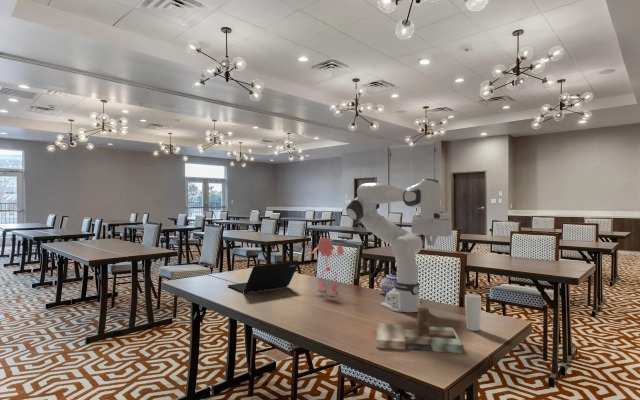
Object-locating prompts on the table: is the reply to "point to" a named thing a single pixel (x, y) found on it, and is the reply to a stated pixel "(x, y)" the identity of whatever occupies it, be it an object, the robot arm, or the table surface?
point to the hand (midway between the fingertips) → (430, 245)
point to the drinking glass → (473, 311)
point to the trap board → (415, 339)
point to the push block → (424, 326)
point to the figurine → (326, 250)
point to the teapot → (387, 282)
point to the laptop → (268, 277)
